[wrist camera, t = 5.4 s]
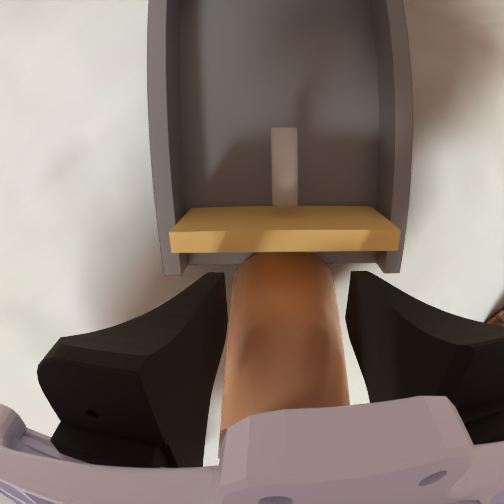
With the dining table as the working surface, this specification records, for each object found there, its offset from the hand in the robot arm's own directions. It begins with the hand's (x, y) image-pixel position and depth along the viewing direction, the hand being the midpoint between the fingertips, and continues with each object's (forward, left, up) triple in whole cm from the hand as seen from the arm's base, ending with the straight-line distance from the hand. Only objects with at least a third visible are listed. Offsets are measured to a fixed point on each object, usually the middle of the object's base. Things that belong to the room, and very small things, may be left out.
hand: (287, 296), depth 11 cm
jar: (-2, 0, -4) cm, 4 cm away
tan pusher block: (+2, 0, -5) cm, 5 cm away
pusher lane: (+7, 0, -5) cm, 8 cm away
